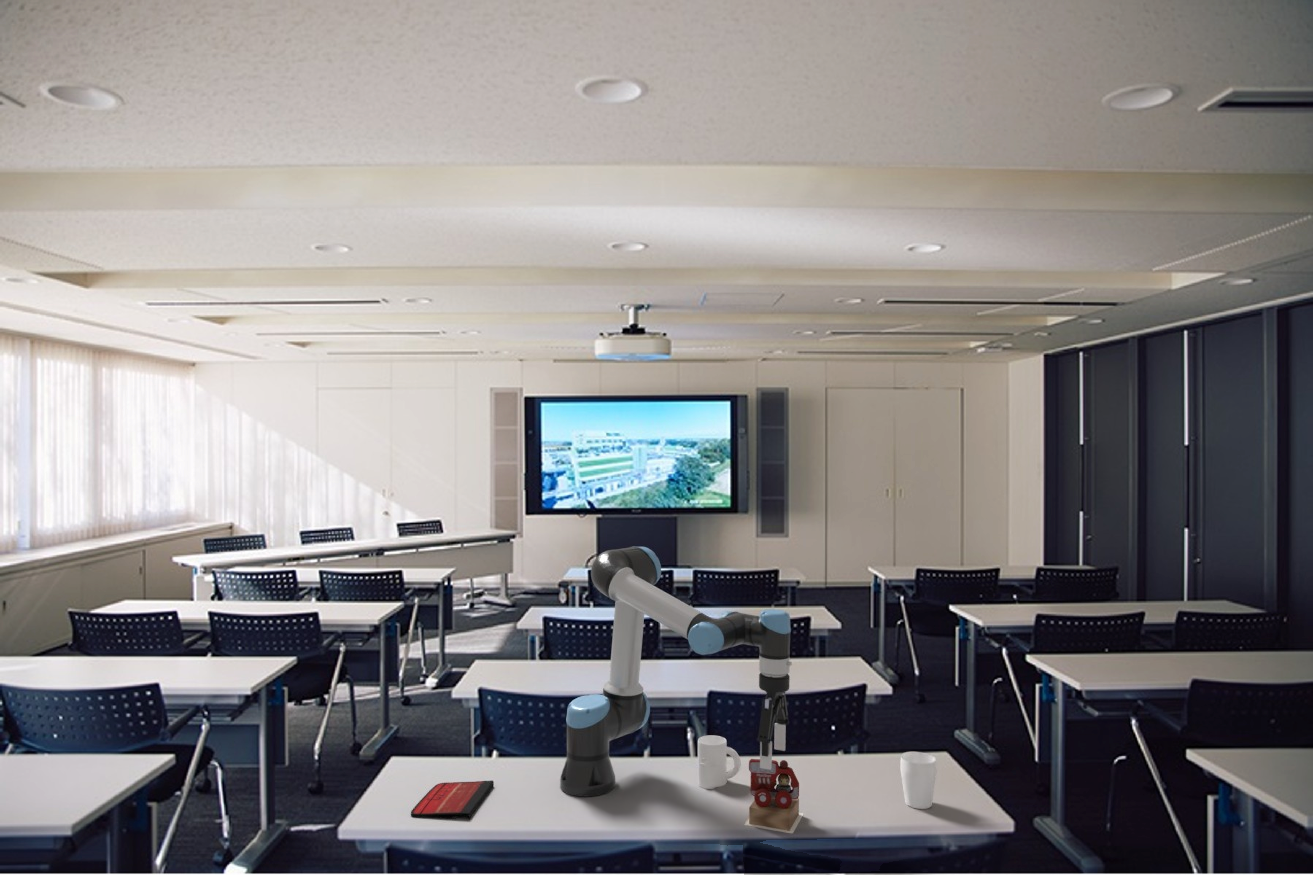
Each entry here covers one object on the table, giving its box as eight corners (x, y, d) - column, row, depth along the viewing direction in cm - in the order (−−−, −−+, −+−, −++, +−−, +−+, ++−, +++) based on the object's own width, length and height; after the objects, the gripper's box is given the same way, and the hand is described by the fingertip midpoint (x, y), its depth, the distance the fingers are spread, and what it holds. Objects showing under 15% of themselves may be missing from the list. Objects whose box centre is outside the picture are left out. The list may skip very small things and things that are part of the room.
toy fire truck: (799, 810, 201) (799, 766, 202) (748, 806, 203) (748, 763, 204) (799, 798, 208) (798, 756, 209) (749, 795, 210) (749, 753, 210)
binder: (493, 779, 227) (469, 812, 206) (494, 788, 227) (470, 821, 206) (437, 779, 229) (407, 812, 208) (437, 788, 229) (407, 822, 208)
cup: (936, 799, 219) (936, 753, 219) (936, 813, 211) (936, 765, 211) (901, 794, 222) (901, 749, 222) (899, 808, 214) (899, 761, 214)
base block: (749, 823, 203) (749, 807, 203) (760, 807, 212) (760, 791, 212) (789, 830, 199) (789, 813, 199) (798, 814, 208) (798, 798, 208)
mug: (740, 791, 224) (740, 746, 224) (696, 788, 226) (696, 744, 226) (741, 779, 232) (741, 736, 232) (699, 777, 234) (699, 734, 234)
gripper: (776, 688, 193) (775, 779, 193) (800, 663, 217) (799, 744, 216) (745, 684, 196) (744, 773, 196) (772, 659, 219) (771, 740, 219)
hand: (772, 758), depth 206 cm, fingers open, 13 cm apart
